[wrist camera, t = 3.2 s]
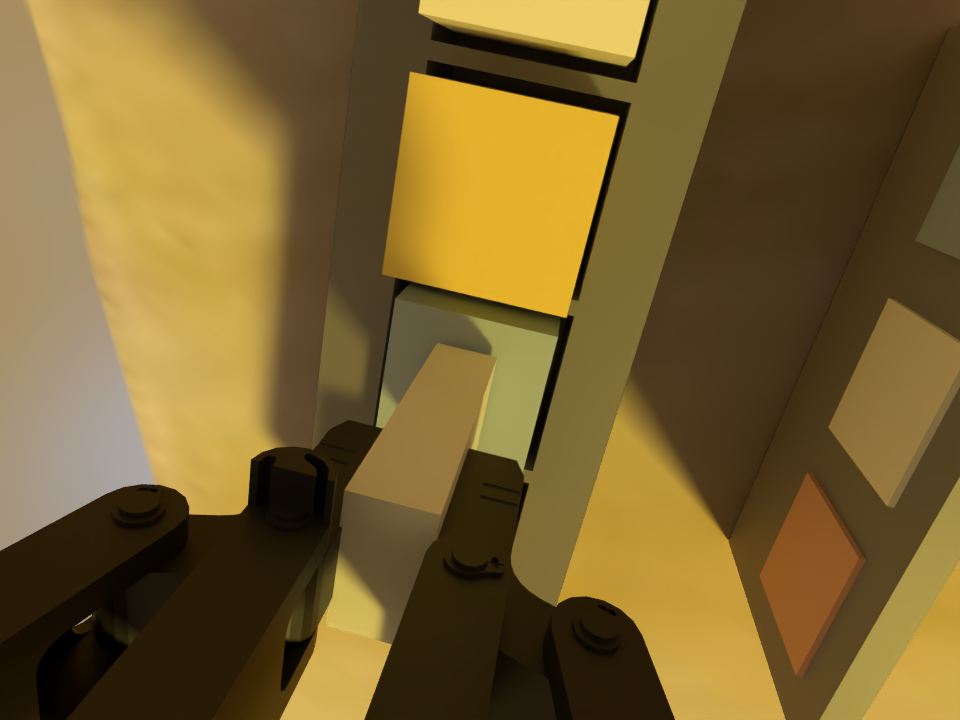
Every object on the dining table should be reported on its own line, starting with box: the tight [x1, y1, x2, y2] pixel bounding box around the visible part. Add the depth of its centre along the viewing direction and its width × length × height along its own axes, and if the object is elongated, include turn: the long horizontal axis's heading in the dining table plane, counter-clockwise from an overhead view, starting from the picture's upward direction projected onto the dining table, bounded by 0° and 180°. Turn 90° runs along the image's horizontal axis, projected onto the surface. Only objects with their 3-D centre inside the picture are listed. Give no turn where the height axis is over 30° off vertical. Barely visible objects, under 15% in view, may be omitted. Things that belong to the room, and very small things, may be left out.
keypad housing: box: [311, 0, 747, 607], centre depth 18 cm, size 22×8×4 cm, turn 169°
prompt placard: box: [729, 26, 960, 720], centre depth 15 cm, size 16×1×8 cm, turn 169°
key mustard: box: [382, 72, 619, 318], centre depth 14 cm, size 4×4×4 cm
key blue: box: [376, 282, 561, 473], centre depth 18 cm, size 4×4×4 cm
